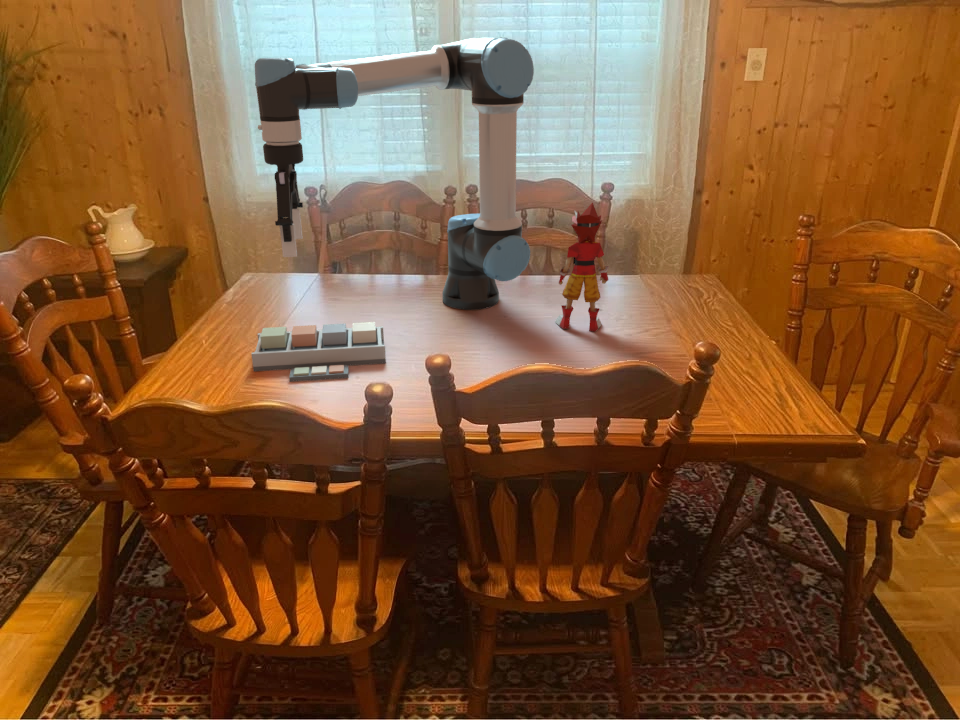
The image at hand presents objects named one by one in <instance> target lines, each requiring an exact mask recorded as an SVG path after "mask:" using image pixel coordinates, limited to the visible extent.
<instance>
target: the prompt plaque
mask: <svg viewBox="0 0 960 720" xmlns="http://www.w3.org/2000/svg"><path fill="white" fill-rule="evenodd" d="M349 370H350V369H349V366H348V365H333V366H317V367H300V368H291V369H290V373H289V377H288V378H289V382H292V383H293V382H307V381H321V380H322V381H323V380H334V379H338V380H339V379H349Z"/></svg>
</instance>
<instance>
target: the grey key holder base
mask: <svg viewBox="0 0 960 720" xmlns="http://www.w3.org/2000/svg"><path fill="white" fill-rule="evenodd" d="M352 328H353V327H346V333H347V342H346V344H333V345H323V338H322V329H317V343H316V345H315V346H298V347H293V345H292V336H291V334H292V331H290V330H289V331H287V338H288V339H287V343H286V347H281V348H264V349H262V346H261V338H260V336H261V333H262V332H259V333H257V340H258V341H257V345H256V348H255V351H254V352H253V351H251V353H250V354H251V355H250V356H251V361H252V369H253V372H267V371H268V372H269V371H283V370H284V371H285V370H286V371H287V370H291V368H300V367H317V366H333V365H348V367H350V366H361V365H362V366H363V365H365V366H366V365H380V364H386V363H387V362H386V344H385V341H384V339H385V338H384V336H385V335H384V326H383V325H382V326H375V329H376V342H367V343H353V332H352Z"/></svg>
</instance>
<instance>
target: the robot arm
mask: <svg viewBox="0 0 960 720" xmlns="http://www.w3.org/2000/svg"><path fill="white" fill-rule="evenodd" d="M534 70H535V69H534V62H533V58H532V56H531V54H530V51H528V49H527V48H526V47H525V46H524V45H523V44H522V43H521V42H519V41H517V40H515V39H511V38H508V37H502V36H500V37H482V36H481V37H480V36H479V37H471V38H465V39H463V40H459V41H452V42H449V43H445V44H444V43H443V44H436V45H433V46H432V47H431V50H427V51H426V50H425V51H417V52H409V53H400V54H391V55H390V54H389V55H382V56H381V55H380V56H373V57H365V58H356V59H347V60H340V61H339V60H338V61H337V60H336V61H330V62H325V63H324V62H321V63H313V64H306V63H299V64H296V63H295V60H293V58H290V57H261V58H257V60H255V62H254V76H255V77H254V79H255V80H254V81H255V83H254V85H255V89H256V94H257V95H256V96H257V102H258V103H257V104H258V112H259V119H260V124H258V126H257V130H258V131H261V138H262V141H264V142H265V143H264V144H263V145H262V148H263V149H262V150H263V156H264V157H263V158H264V162H265V163H266V164H267V165H270V166H276V167H277V169H276V171H275V173H274V181H275V191H276V192H275V193H276V210H277V212H276V214H277V220H275V221H274V222H275V225H274V226H276V227H277V226H279V232H280V242H281V250H282V257H283V258H297V257H298V251H297V242H296V241H297V240H303V230H302V229H303V228H302V218H301V208H302V209H303V207H304V205H303V202H302V201H301V198H300V194H299V189H298V180H297V178H298V177H297V175H298V174H297V171H296V165H298V164H301V163H303V161H304V153H303V144H302V142H300V141H301V140H302V139H303V137H302V128H301V119H300V110H303V111H304V110H312V109H313V110H314V109H315V110H319V109H324V110H325V109H339V110H341V109H343V108H351V107H354V106H355V105H356V104H357V100H358V98H359V97H362V96H371V95H377V94H385V93H392V92H393V93H394V92H400V91H401V92H402V91H409V90H416V89H423V88H430V87H435V88H436V89H438V90H440V91H442V90H444V91H445V90H462V91H463V90H464V91H470V92H471V105H472V106H473V107H474V108H475V109H476V110H477V112H478V152H479V153H478V155H479V156H478V161H479V163H478V164H479V165H478V167H479V169H478V171H479V173H478V175H479V213H467V214H458V215H454V216H452V217H450V218H449V219H448V223H447V230H446V232H447V251H448V252H447V255H448V259H447V260H448V274H447V277H446V280H445V283H444V286H443V289H442V302H443V304H444V305H446V306H448V307H449V308H453V309H458V310H467V311H468V310H469V311H470V310H471V311H473V310H475V311H477V310H483V309H488V308H491V307H494V306H496V305H497V304H498V303H499V302H500V292H499V289H498V286H497V283H496V281H498V282H499V281H500V282H510V281H512V280H514V279H516V278H518V277H519V276H521V274H522V273H523V271H525V270H526V269H527V267H528V265H529V262H530V258H531V249H530V248H531V247H530V245H529V243H528V242H527V240H526V239H525V238H524V237H522V236H523V222H522V221H521V219H519V218H518V216H517V205H516V204H517V121H518V120H517V118H518V117H517V116H518V114H517V112H518V110H519V109H520V108H521V107H522V106H523V104H524V96H525V95H524V93H526V92H527V91H528V89H529V86H531V85H532V82H533V79H534Z"/></svg>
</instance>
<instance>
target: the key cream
mask: <svg viewBox="0 0 960 720" xmlns="http://www.w3.org/2000/svg"><path fill="white" fill-rule="evenodd" d="M375 327H376V321H368V322H352V327H351V328H352V332H353V343H367V342H376V329H375Z"/></svg>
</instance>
